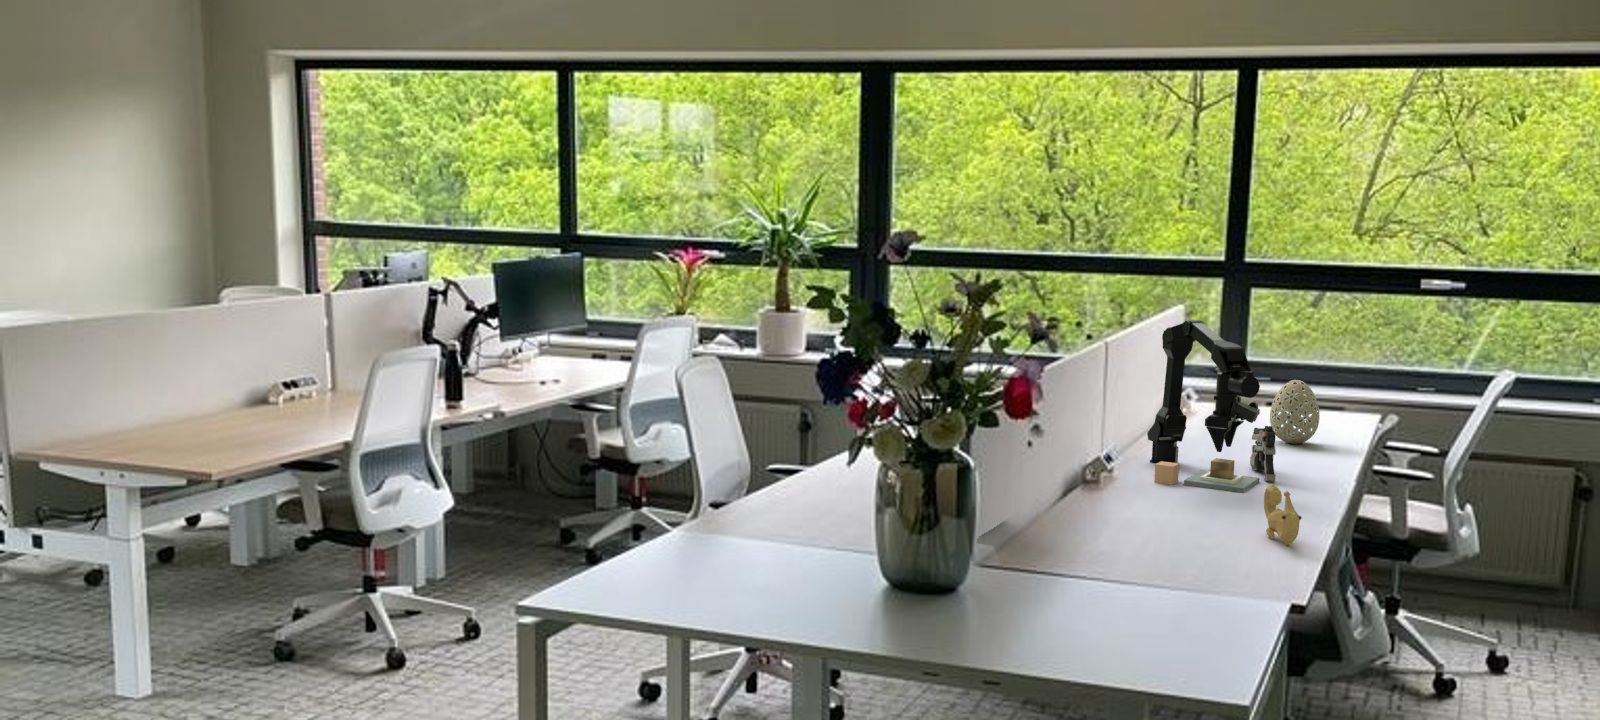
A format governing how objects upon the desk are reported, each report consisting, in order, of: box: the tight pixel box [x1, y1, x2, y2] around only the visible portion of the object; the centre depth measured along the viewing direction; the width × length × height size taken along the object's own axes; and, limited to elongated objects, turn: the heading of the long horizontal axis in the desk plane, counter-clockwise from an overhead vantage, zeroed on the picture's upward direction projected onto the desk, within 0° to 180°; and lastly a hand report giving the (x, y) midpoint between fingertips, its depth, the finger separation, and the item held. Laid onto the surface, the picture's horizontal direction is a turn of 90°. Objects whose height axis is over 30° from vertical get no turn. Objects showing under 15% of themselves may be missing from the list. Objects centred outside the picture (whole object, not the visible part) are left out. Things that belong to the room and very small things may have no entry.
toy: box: [1263, 483, 1302, 546], centre depth 328 cm, size 5×12×20 cm
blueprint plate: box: [1183, 469, 1260, 493], centre depth 388 cm, size 16×16×2 cm
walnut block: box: [1209, 458, 1236, 480], centre depth 388 cm, size 5×5×5 cm
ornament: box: [1269, 379, 1320, 445], centre depth 447 cm, size 15×15×20 cm
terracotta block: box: [1154, 461, 1180, 486], centre depth 389 cm, size 5×5×5 cm
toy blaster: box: [1249, 425, 1277, 482], centre depth 400 cm, size 4×21×15 cm, turn 174°
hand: (1223, 449), depth 387 cm, fingers open, 9 cm apart
